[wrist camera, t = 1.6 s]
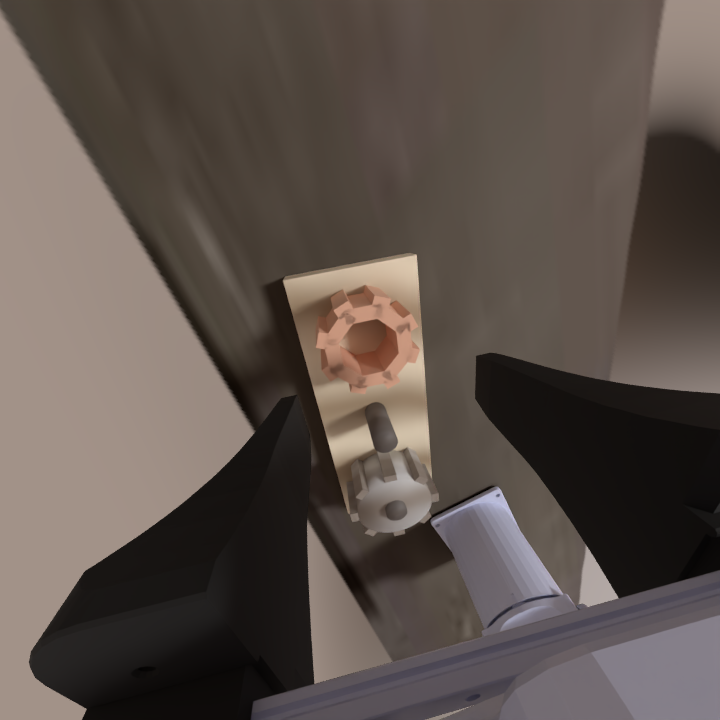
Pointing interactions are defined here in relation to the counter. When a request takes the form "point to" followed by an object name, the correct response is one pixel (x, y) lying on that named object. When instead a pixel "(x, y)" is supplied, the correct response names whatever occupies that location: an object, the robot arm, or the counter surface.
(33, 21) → the counter surface
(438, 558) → the counter surface
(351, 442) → the board
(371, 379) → the gear
